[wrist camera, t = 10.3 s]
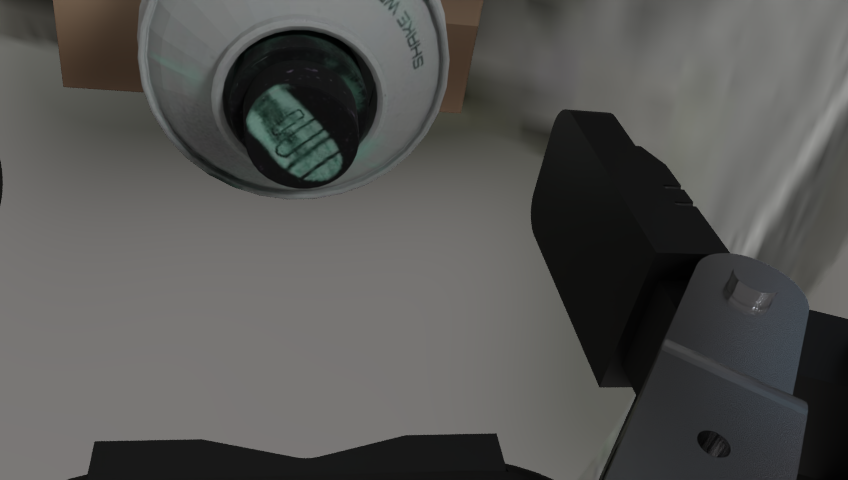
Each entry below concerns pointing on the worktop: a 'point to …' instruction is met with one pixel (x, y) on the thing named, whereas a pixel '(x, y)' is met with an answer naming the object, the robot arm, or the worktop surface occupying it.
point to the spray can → (294, 87)
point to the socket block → (118, 47)
